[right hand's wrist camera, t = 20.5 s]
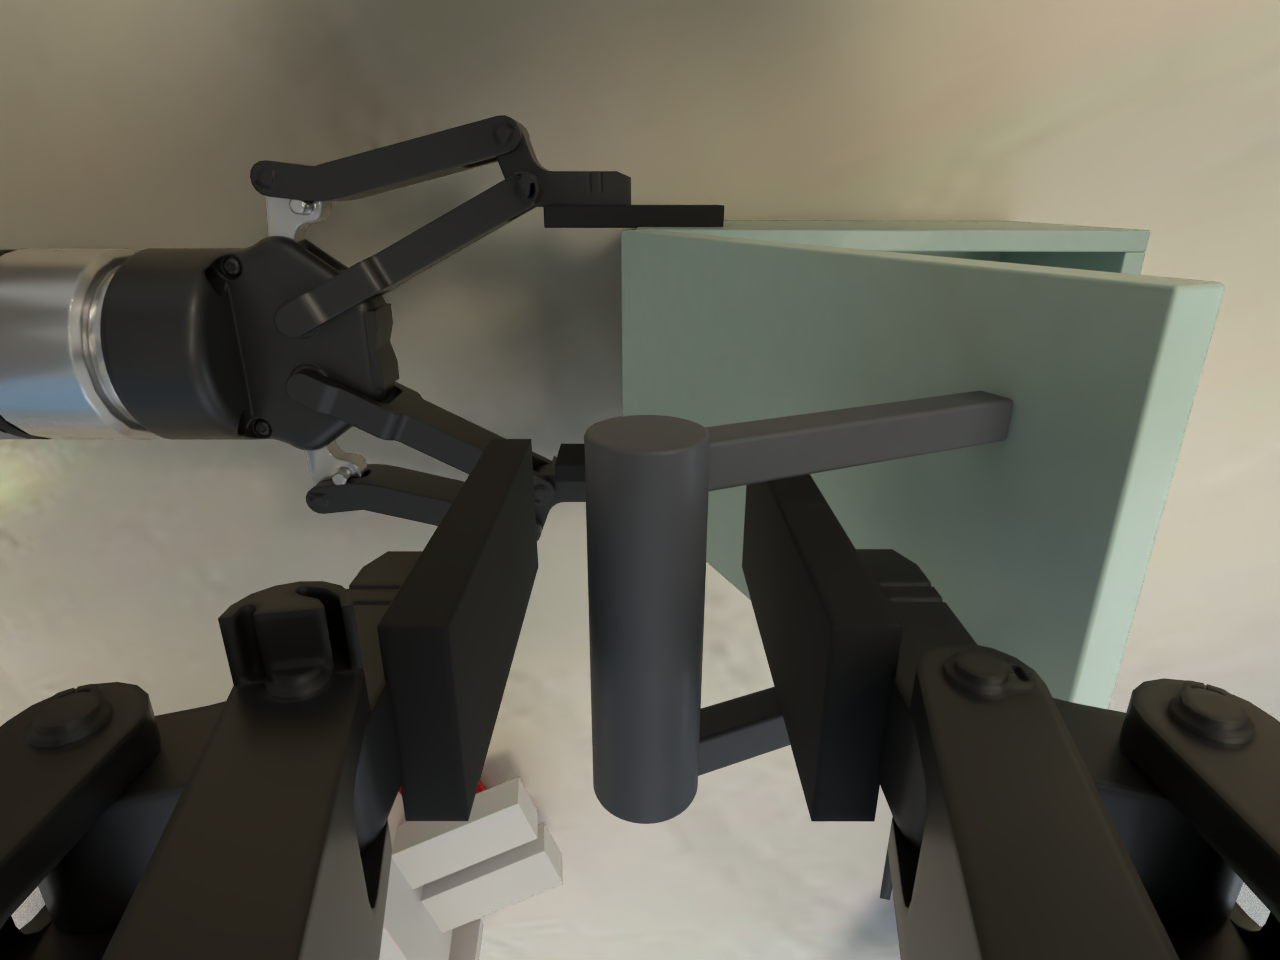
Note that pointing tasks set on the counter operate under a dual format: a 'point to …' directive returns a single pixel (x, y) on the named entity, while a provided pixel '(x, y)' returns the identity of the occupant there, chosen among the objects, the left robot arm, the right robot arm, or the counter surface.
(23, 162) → the counter surface
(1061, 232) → the chest
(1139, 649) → the counter surface
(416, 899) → the toy
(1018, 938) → the right robot arm
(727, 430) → the lid
